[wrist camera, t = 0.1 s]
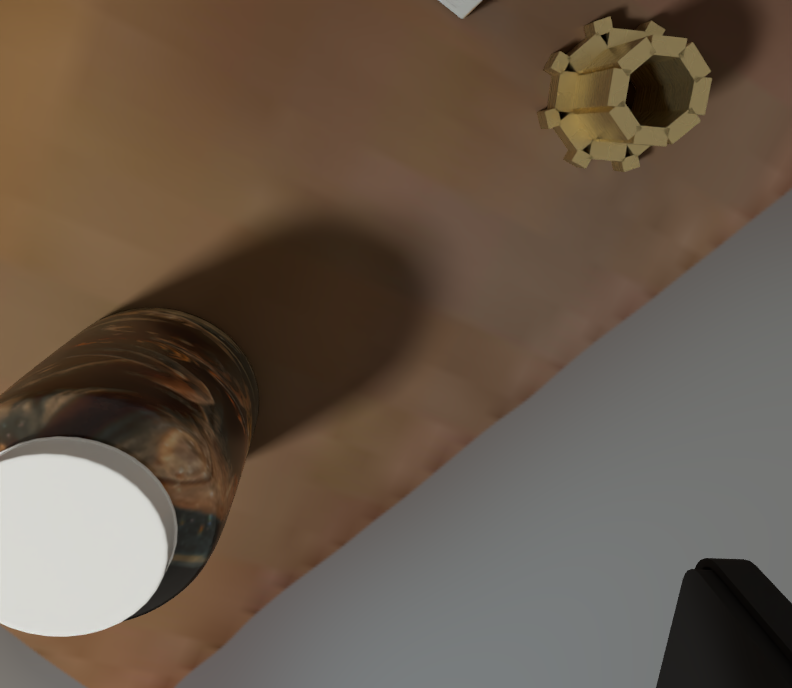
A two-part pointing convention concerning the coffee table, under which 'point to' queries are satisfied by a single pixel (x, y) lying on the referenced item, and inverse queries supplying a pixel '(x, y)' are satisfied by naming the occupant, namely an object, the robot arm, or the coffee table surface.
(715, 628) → the robot arm
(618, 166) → the gear
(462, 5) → the small box
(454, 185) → the coffee table surface
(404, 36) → the coffee table surface
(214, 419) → the jar
